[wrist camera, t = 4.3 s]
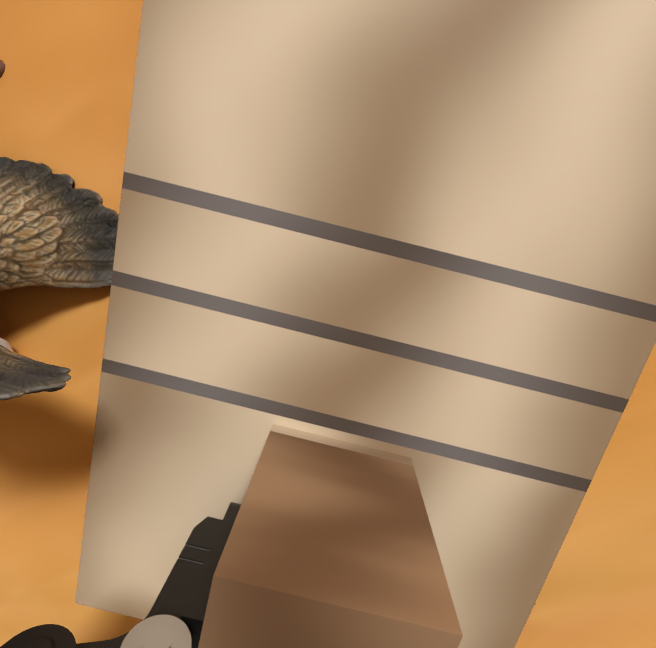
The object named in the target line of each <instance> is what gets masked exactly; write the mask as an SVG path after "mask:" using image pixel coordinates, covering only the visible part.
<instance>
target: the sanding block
mask: <svg viewBox="0 0 656 648" xmlns="http://www.w3.org/2000/svg"><path fill="white" fill-rule="evenodd" d="M462 637H463V635H462V631H461V628H460V624H459V621H458V618H457V614H456V611H455V607H454V604H453V600H452V597H451V594H450V590H449V587H448V583H447V580H446V576H445V573H444V570H443V566H442V563H441V559H440V556H439V552H438V549H437V546H436V542H435V539H434V535H433V532H432V528H431V525H430V521H429V518H428V515H427V511H426V508H425V504H424V501H423V497H422V494H421V491H420V487H419V484H418V480H417V477H416V473H415V470H414V467H413V463H412V460H411V458H410V457H406V456H402V455H398V454H394V453H390V452H386V451H382V450H378V449H373V448H369V447H365V446H361V445H357V444H353V443H349V442H345V441H341V440H337V439H333V438H329V437H325V436H321V435H316V434H312V433H308V432H304V431H300V430H296V429H292V428H288V427H284V426H280V425H276V424H273V425H272V428H271V430H270V433H269V436H268V438H267V441H266V443H265V446H264V448H263V451H262V453H261V456H260V458H259V461H258V463H257V466H256V469H255V471H254V474H253V476H252V479H251V481H250V484H249V486H248V489H247V491H246V494H245V496H244V499H243V502H242V504H241V507H240V509H239V512H238V514H237V517H236V519H235V522H234V524H233V527H232V529H231V532H230V534H229V537H228V540H227V542H226V545H225V547H224V550H223V552H222V555H221V557H220V560H219V562H218V565H217V567H216V570H215V573H214V575H213V579H212V584H211V589H210V594H209V598H208V603H207V608H206V613H205V617H204V622H203V627H202V631H201V636H200V641H199V646H198V648H458V647H459V644H460V642H461V639H462Z"/></svg>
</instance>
